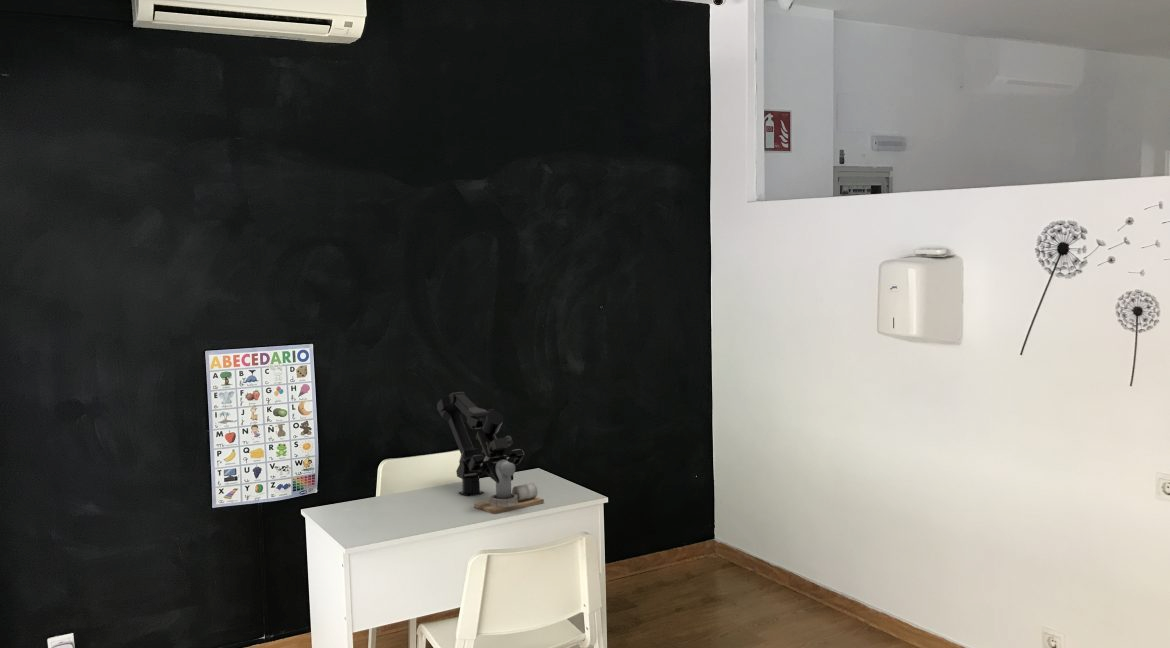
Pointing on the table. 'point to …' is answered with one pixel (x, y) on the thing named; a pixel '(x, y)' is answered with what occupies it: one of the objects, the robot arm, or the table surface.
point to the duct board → (512, 500)
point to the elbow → (504, 479)
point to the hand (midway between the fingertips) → (505, 480)
